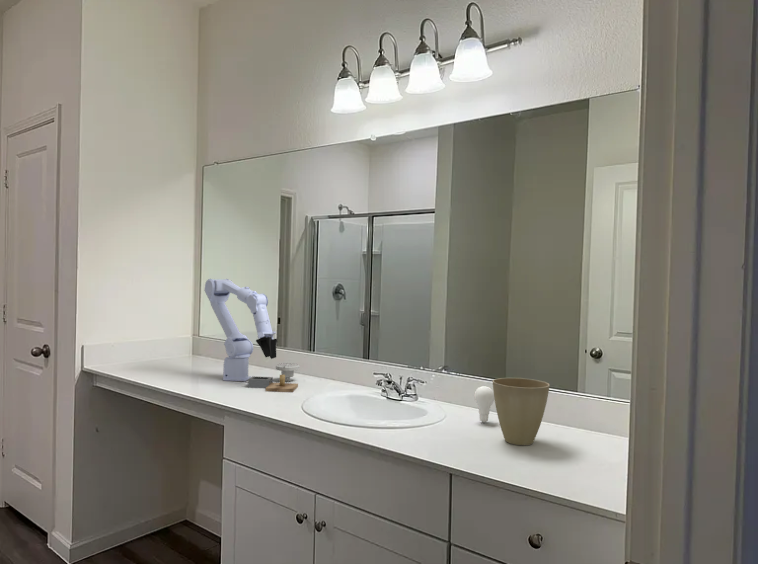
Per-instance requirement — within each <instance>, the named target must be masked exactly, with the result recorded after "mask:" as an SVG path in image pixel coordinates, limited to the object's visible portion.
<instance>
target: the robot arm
mask: <svg viewBox="0 0 758 564" xmlns="http://www.w3.org/2000/svg"><path fill="white" fill-rule="evenodd" d="M204 293H205V294H206V296H207V298H208V301H209V303H210V307H211V308H212V310H213V312H214V314H215V316H216V318H217V320H218V323H219V324H220V326H221V328H222V330H223V333H224V335H225V337H226V339H225V341H224V343H223V345H224V347H225V352H226V354H227V357H225V358H224V361H223V374H222V375H223V377H222V378H223V379H222V381H229V382H230V381H233V382H235V381H237V382H248V379H249V378H251V377H252V376H250V375H249V362H250V361H249V358H251V355H252V354H253V351H254V344H253V342H252V341H251V340H250V338H248V336H247V335H246V334H243V333H241V332H240V330H239V328H238V326H237V324H236V322H235V320H234V318H233V316H232V313H230V312H231V311H230V310H229V308H228V306H227V305H226V302H227V301H228V300H229V297H230V295H231V294H233V295H235V296H236V297H237V300H238V301H241V302H242V303H244V304H246V307H247V308H248V309H249V310H250V313H251V314H252V317H253V320H254V325H255V329H256V333H257V338H256V340H255V342H256V344H258V346H259V348H261V351H262V353H263V355H264V357H265V358H270V359H271V360H272V359H276V358H277V343H278V339H277V338H274V335H275V334H277V331H273V328H272V324H271V321H270V316H269V311H268V307H267V306H268V304H269V298H268V296H267V295H266V294H265V293H258V292H257V291H256V290H252V289H250V287H249V286H242V287H240V286H239V285H238V284H236V283H235V282H233V281H232V280H231V279H229V278H223V279H222V278H221V279H220V278H217V279H215V278H214V279H213V278H208V279H206V282H205V284H204Z"/></svg>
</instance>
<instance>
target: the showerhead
mask: <svg viewBox="0 0 758 564" xmlns="http://www.w3.org/2000/svg"><path fill="white" fill-rule="evenodd" d="M275 370H276V371H281V373H280V375H285V383H287V382H288V383H289V382H291V378H292V377H294V376H295V375H294V374H295V373H294V372H295V371H299V370H300V364H297V363H294V362H293V363H292V362H289V363H288V362H281V363H278V364H276V365H275Z"/></svg>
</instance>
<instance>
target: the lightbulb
mask: <svg viewBox="0 0 758 564" xmlns="http://www.w3.org/2000/svg"><path fill="white" fill-rule="evenodd" d="M473 396H474V401H475V403H476V405H477V407H478V413H479V421H481V423H483V424H485V423H486V422H488V421H489V414H490V411H491V407H492V405H493V403H495V399H494V391H493V388H491V387H489V386H485V385H481V386H480V387H479V386H478V387H477V388H476V390H475V392H474V395H473Z"/></svg>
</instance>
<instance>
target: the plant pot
mask: <svg viewBox="0 0 758 564" xmlns="http://www.w3.org/2000/svg"><path fill="white" fill-rule="evenodd" d="M492 390H493V392H494V404H495V410H496V413H497V414H496V415H497V418H498V422H499V426H500V430H501V432H502V435H503V438H504V441H505V442H506V443H509V444H511V445H515V446H516V445H517V446H530V445H533V443H534V441H535V439H536V437H537V435H538V432H539V430H540V427H541V425H542V420H543V417H544V414H545V412H546V411H545V410H546V406H547V403H548V399H549V398H548V397H549V392H550V383H548V382H546V381H544V380H543V381H542V380H538V379H532V378H524V377H499V378H495V379H493V380H492Z"/></svg>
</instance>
